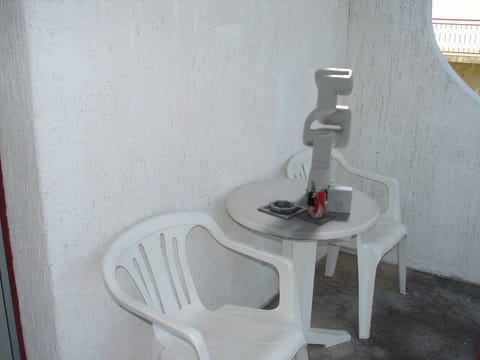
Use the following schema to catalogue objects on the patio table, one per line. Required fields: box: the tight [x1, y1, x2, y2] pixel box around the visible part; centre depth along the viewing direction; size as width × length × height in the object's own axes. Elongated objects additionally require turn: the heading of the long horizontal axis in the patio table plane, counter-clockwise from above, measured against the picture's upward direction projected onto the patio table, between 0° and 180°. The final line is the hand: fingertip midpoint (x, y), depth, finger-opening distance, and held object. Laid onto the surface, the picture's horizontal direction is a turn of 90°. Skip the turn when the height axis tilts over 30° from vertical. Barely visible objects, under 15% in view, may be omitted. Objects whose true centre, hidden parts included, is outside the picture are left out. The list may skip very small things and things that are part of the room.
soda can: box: [307, 189, 327, 218], centre depth 193 cm, size 7×7×12 cm
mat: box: [295, 211, 337, 226], centre depth 195 cm, size 12×12×1 cm
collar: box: [257, 199, 308, 220], centre depth 202 cm, size 16×16×2 cm
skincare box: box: [325, 184, 353, 214], centre depth 203 cm, size 10×6×10 cm, turn 78°
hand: (317, 203), depth 193 cm, fingers open, 9 cm apart
